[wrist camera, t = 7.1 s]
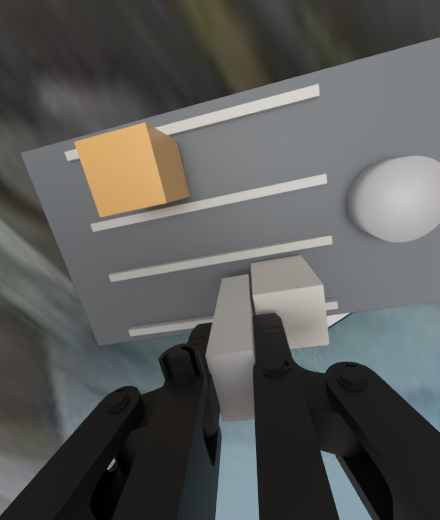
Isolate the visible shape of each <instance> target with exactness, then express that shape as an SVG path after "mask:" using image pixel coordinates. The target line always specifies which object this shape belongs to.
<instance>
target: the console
mask: <svg viewBox="0 0 440 520" xmlns="http://www.w3.org/2000/svg"><path fill="white" fill-rule="evenodd" d="M145 122H146V123H147V124H149V125H151V126H153V127H154V128H156V129H158V130H159V131H161V132H163V133H165V134H166V135H168V136H170V137H171V138H173V139H175V140H177V144H178V148H179V152H180V156H181V160H182V165H183V169H184V173H185V177H186V181H187V186H188V190H189V194H190V197H186V198H183V199H179V200H176V201H172V202H169V203H165V204H160V205H155V206H151V207H146V208H142V209H137V210H132V211H128V212H123V213H119V214H114V215H109V216H105V217H100V216H99V213H98V210H97V207H96V204H95V201H94V198H93V195H92V193H91V190H90V187H89V184H88V181H87V178H86V175H85V172H84V169H83V166H82V164H81V161H80V158H79V155H78V152H77V149H76V146H75V143H74V142H75V141H79V140H82V139H86V138H90V137H93V136H97V135H101V134H104V133H108V132H112V131H115V130H119V129H123V128H126V127H130V126H134V125H137V124H141V123H145ZM21 156H22V158H23V160H24V163H25V165H26V168H27V170H28V173H29V175H30V178H31V180H32V183H33V185H34V188H35V190H36V193H37V195H38V198H39V200H40V202H41V205H42V207H43V210H44V212H45V215H46V217H47V220H48V222H49V225H50V227H51V230H52V232H53V235H54V237H55V239H56V242H57V244H58V247H59V249H60V252H61V254H62V257H63V259H64V262H65V264H66V267H67V269H68V272H69V274H70V277H71V279H72V281H73V284H74V286H75V289H76V291H77V294H78V296H79V299H80V301H81V304H82V306H83V309H84V311H85V314H86V316H87V318H88V321H89V323H90V326H91V328H92V331H93V333H94V336H95V338H96V341H97V343H98V346H100V345H108V344H115V343H123V342H131V341H138V340H146V339H154V338H161V337H169V336H177V335H184V334H191V331H192V330H193V329H194V328H195V327H196V326H197V325H198V324H202V323H209V322H213V318H214V313H215V309H216V304H217V299H218V295H219V290H220V286H221V281H222V278H228V277H234V276H240V275H246V274H248V275H249V280H250V286H251V291H252V278H251V263H254V262H260V261H266V260H272V259H278V258H284V257H290V256H296V255H302V257H303V258H304V259H305V261H306V262H307V263H308V265H309V266H310V268H311V269H312V270H313V272H314V273H315V274H316V276H317V277H318V278H319V280H320V281H321V282H322V284H323V286H324V296H325V306H326V316H330V315H338V314H345V313H353V312H361V311H368V310H376V309H383V308H391V307H399V306H406V305H414V304H422V303H429V302H437V301H440V38H436V39H432V40H429V41H425V42H422V43H418V44H414V45H411V46H407V47H403V48H400V49H396V50H393V51H389V52H385V53H382V54H378V55H374V56H371V57H367V58H364V59H360V60H356V61H353V62H349V63H345V64H342V65H338V66H335V67H331V68H327V69H324V70H320V71H316V72H313V73H309V74H305V75H302V76H298V77H295V78H291V79H287V80H284V81H280V82H276V83H273V84H269V85H266V86H262V87H258V88H255V89H251V90H247V91H244V92H240V93H237V94H233V95H229V96H226V97H222V98H218V99H215V100H211V101H208V102H204V103H200V104H197V105H193V106H189V107H186V108H182V109H178V110H175V111H171V112H168V113H164V114H160V115H157V116H153V117H149V118H146V119H142V120H139V121H135V122H131V123H128V124H124V125H120V126H117V127H113V128H110V129H106V130H102V131H99V132H95V133H91V134H88V135H84V136H81V137H77V138H73V139H70V140H66V141H62V142H59V143H55V144H51V145H48V146H44V147H41V148H37V149H33V150H30V151H26V152H22V153H21ZM252 296H253V293H252ZM253 301H254V300H253ZM254 307H255V305H254ZM255 312H256V310H255Z"/></svg>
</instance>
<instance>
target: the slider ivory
mask: <svg viewBox="0 0 440 520" xmlns="http://www.w3.org/2000/svg"><path fill="white" fill-rule="evenodd" d="M251 278H252V293H253V300H254V305H255V310H256V315H261V314H268V313H276V314H277V315H278V316H279V317H281V319H282V322H283V326H284V330H285V333H286V337H287V341H288V344H289V348H290V349H296V348H305V347H314V346H323V345H329V336H328V326H327V316H326V306H325V296H324V286H323V284H322V282H321V281H320V280H319V278H318V277H317V276H316V274H315V273H314V272H313V270H312V269H311V268H310V266H309V265H308V263H307V262H306V261H305V259H304V258H303V257H302V255H296V256H290V257H284V258H278V259H272V260H266V261H260V262H254V263H251Z"/></svg>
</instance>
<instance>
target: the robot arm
mask: <svg viewBox="0 0 440 520" xmlns="http://www.w3.org/2000/svg"><path fill="white" fill-rule="evenodd" d="M158 360H159V363H160V366H161V369H162V372H163V375H164V378H165V382H164V385H163V387H161V388H158V389H156V390H154V391H151V392H148V393H145V394H143V395H141V394H140V392H139V390H138V389H137V388H136V387H133V386H125V387H122V388H119V389H116V390H115V391H113V392H111V393H110V394H108V395H107V396H106V397H105V398H104V399H103V400H102V401H101V402H100V403H99V404H98V405H97V407H96V408H95V409H94V410H93V411H92V412H91V413H90V415H89V416H88V417H87V418H86V419H85V420H84V421H83V422H82V424H81V425H80V426H79V427H78V428H77V429H76V430H75V432H74V433H73V434H72V435H71V436H70V437H69V438H68V440H67V441H66V442H65V443H64V444H63V445H62V446H61V447H60V449H59V450H58V451H57V452H56V453H55V454H54V455H53V457H52V458H51V459H50V460H49V461H48V462H47V463H46V465H45V466H44V467H43V468H42V469H41V470H40V471H39V472H38V474H37V475H36V476H35V477H34V478H33V479H32V480H31V482H30V483H29V484H28V485H27V486H26V487H25V488H24V489H23V491H22V492H21V493H20V494H19V495H18V496H17V497H16V499H15V500H14V501H13V502H12V503H11V504H10V505H9V507H8V508H7V509H6V510H5V511H4V512H3V513H2V514H1V516H0V520H215V513H216V501H217V489H218V476H219V464H220V452H221V439H222V436H221V429H220V426H219V415H220V413H221V416H222V420H223V421H235V420H248V419H255V435H256V457H257V479H258V501H259V520H339V516H338V513H337V509H336V506H335V502H334V498H333V495H332V491H331V488H330V484H329V481H328V477H327V474H326V470H325V466H324V463H323V459H322V456H321V452H320V450H321V451H325V452H329V453H332V454H335V455H336V458H337V460H338V461H339V463H340V465H341V466H342V468H343V470H344V472H345V473H346V475H347V477H348V478H349V480H350V482H351V484H352V485H353V487H354V489H355V490H356V492H357V494H358V496H359V497H360V499H361V501H362V503H363V504H364V506H365V508H366V509H367V511H368V513H369V515H370V516H371V518H372V520H440V432H439V431H438V430H436V429H435V428H434V427H433V426H432V425H431V424H430V423H429V422H428V421H427V420H426V419H425V418H424V417H422V416H421V415H420V414H419V413H418V412H417V411H416V410H415V409H414V408H413V407H412V406H411V405H410V404H408V403H407V402H406V401H405V400H404V399H403V398H402V397H401V396H400V395H399V394H398V393H397V392H396V391H394V390H393V389H392V388H391V387H390V386H389V385H388V384H387V383H386V382H385V381H384V380H383V379H382V378H381V377H379V376H378V375H377V374H376V373H375V372H374V371H372V370H371V369H369V368H368V367H367V366H364V365H361V364H359V363H355V362H339V363H336V364H334V365H332V366H330V367H329V368H328V369H327V371H326V373H319V372H313V371H309V370H306V369H304V368H302V367H300V366H299V365H297V364H296V362H295V361H294V360H293V358H292V355H291V352H290V348H289V344H288V341H287V337H286V333H285V330H284V326H283V322H282V319H281V317H279V316H278V315H277V314H276V313H268V314H261V315H256V312H255V307H254V301H253V296H252V291H251V286H250V280H249V275H248V274H246V275H240V276H234V277H228V278H222V281H221V286H220V290H219V295H218V299H217V304H216V309H215V313H214V318H213V322H209V323H202V324H198V325H197V326H196V327H195V328H194V329H193V330H192V331H191V334H190V337H189V340H188V343H187V344H180V345H176V346H174V347H171V348H169V349H168V350H166V351H165V352H164V353H163V354H162V355H161V356H160V358H159V359H158ZM113 459H115V461H116V462H115V463H114V465H113V466H112V467H111V468H110V469H109V470H107V468H108V466H109V465H110V463H111V462H112V460H113Z"/></svg>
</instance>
